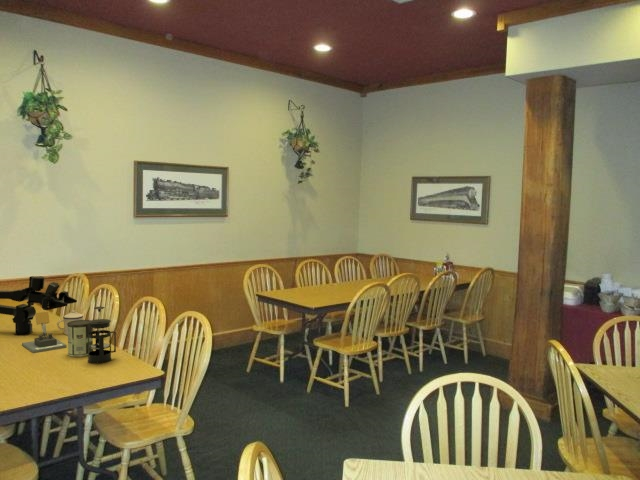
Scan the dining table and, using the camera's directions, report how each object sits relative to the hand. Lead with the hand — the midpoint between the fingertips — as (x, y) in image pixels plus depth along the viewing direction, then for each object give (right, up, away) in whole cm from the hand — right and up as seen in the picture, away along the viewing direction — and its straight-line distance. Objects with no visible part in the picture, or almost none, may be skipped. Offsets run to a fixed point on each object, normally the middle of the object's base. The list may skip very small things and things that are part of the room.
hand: (71, 303), depth 264 cm
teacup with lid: (-3, -16, +5) cm, 17 cm away
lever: (-2, -14, -21) cm, 25 cm away
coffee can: (+17, -19, -29) cm, 39 cm away
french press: (+30, -20, -38) cm, 52 cm away
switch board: (-4, -18, -19) cm, 27 cm away
